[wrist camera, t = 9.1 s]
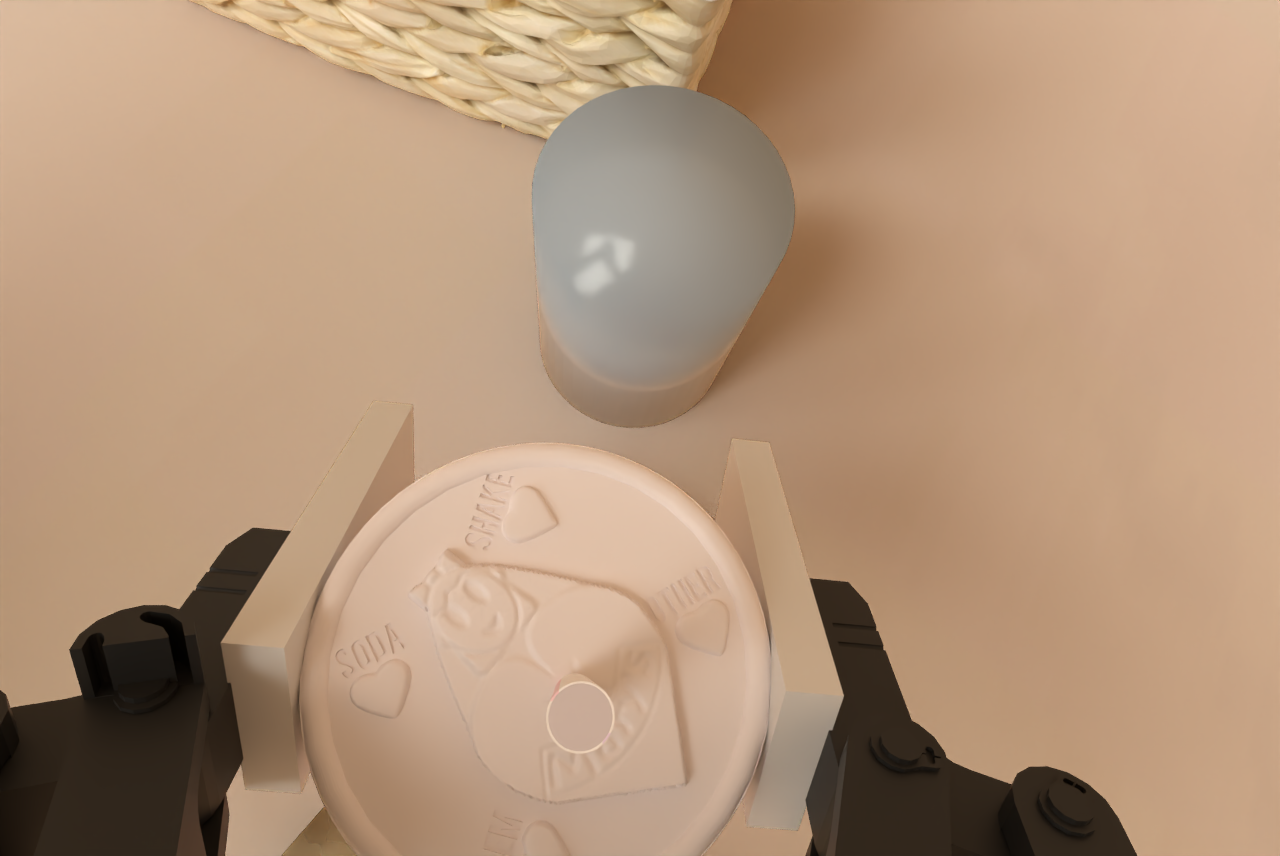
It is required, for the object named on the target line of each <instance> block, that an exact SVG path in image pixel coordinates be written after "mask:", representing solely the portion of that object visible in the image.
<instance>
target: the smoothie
mask: <svg viewBox="0 0 1280 856" xmlns="http://www.w3.org/2000/svg"><path fill="white" fill-rule="evenodd" d="M770 670H771V653H770V645H769V637H768V632H767V627H766V623H765V618H764V614H763V611H762V608H761V604H760V601H759V598H758V595H757V592H756V590H755V587H754V585H753V583H752V580H751V578H750V576H749V573H748V571H747V569H746V567H745V566H744V564H743V562H742V560H741V558H740V556H739V554H738V553H737V551H736V550H735V548H734V547H733V545H732V544H731V542H730V541H729V539H728V538H727V536H726V535H725V533H724V532H723V531H722V530H721V528H720V527H719V526H718V525H717V523H716V522H715V521H714V520H713V518H712V517H711V516H710V515H709V514H708V513H707V512H706V511H705V510H704V509H703V508H702V507H701V506H700V505H699V504H698V503H697V502H696V501H695V500H693V499H692V498H691V497H690V496H689V495H688V494H686V493H685V492H684V491H683V490H682V489H680V488H679V487H678V486H676V485H675V484H673V483H672V482H670V481H669V480H668V479H666V478H665V477H663V476H661V475H660V474H658V473H656V472H654V471H653V470H651V469H649V468H647V467H645V466H643V465H641V464H639V463H637V462H634V461H632V460H630V459H628V458H625V457H622V456H619V455H616V454H613V453H610V452H607V451H604V450H600V449H595V448H591V447H587V446H581V445H573V444H566V443H545V442H540V443H523V444H515V445H508V446H501V447H497V448H493V449H489V450H485V451H481V452H477V453H474V454H471V455H468V456H466V457H463V458H460V459H457V460H455V461H453V462H450V463H448V464H446V465H444V466H442V467H440V468H437V469H436V470H434V471H432V472H430V473H429V474H427V475H425V476H423V477H422V478H420V479H418V480H417V481H415V482H414V483H412V484H411V485H409V486H408V487H407V488H405V489H404V490H402V491H401V492H400V493H398V494H397V495H396V496H395V497H394V498H392V499H391V500H390V501H389V502H388V503H386V504H385V505H384V506H383V507H382V508H381V509H380V510H379V511H378V512H377V513H376V514H375V515H374V516H373V517H372V518H371V519H370V520H369V521H368V522H367V523H366V524H365V525H364V526H363V528H362V529H361V530H360V531H359V533H358V534H357V535H356V536H355V537H354V539H353V540H352V541H351V542H350V544H349V545H348V547H347V548H346V550H345V551H344V553H343V554H342V556H341V557H340V559H339V560H338V562H337V563H336V565H335V567H334V569H333V571H332V573H331V574H330V576H329V578H328V580H327V582H326V584H325V586H324V588H323V591H322V593H321V595H320V597H319V600H318V602H317V604H316V607H315V610H314V613H313V616H312V619H311V623H310V628H309V633H308V638H307V643H306V647H305V651H304V658H303V664H302V669H301V674H300V694H299V705H300V720H301V730H302V736H303V742H304V748H305V753H306V756H307V760H308V764H309V767H310V771H311V775H312V777H313V780H314V783H315V785H316V788H317V790H318V793H319V795H320V798H321V800H322V802H323V804H324V806H325V808H326V810H327V812H328V814H329V816H330V818H331V820H332V821H333V823H334V824H335V826H336V827H337V829H338V831H339V832H340V834H341V835H342V837H343V838H344V840H345V841H346V843H347V844H348V845H349V846H350V847H351V849H352V850H353V851H354V852H355V853H356V855H357V856H703V854H704V853H705V852H706V851H707V850H708V849H709V848H710V846H711V845H712V844H713V843H714V842H715V841H716V839H717V838H718V837H719V835H720V834H721V832H722V831H723V830H724V828H725V827H726V826H727V824H728V823H729V821H730V820H731V818H732V816H733V815H734V813H735V811H736V810H737V808H738V806H739V804H740V803H741V801H742V799H743V797H744V795H745V793H746V791H747V789H748V786H749V784H750V782H751V780H752V778H753V775H754V772H755V770H756V767H757V764H758V761H759V758H760V755H761V752H762V748H763V744H764V740H765V736H766V732H767V727H768V720H769V701H770V686H771V671H770Z"/></svg>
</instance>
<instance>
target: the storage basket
mask: <svg viewBox="0 0 1280 856" xmlns="http://www.w3.org/2000/svg"><path fill="white" fill-rule="evenodd" d="M189 1H192V2H194V3H197V4H199V5H202V6H204V7H206V8H208V9H209V10H210V11H212V12H214V13H217V14H219V15H223V16H225V17H227V18H230V19H232V20H235V21H238V22H243V23H247V24H249V25H250V26H252V27H254V28H256V29H257V30H259V31H261V32H263V33H266V34H268V35H271V36H273V37H276V38H279V39H282V40H284V41H287V42H289V43H293V44H295V45H299V46H304V47H306V48H307V49H308V50H310V51H311V52H312V53H314V54H316V55H317V56H319V57H321V58H323V59H324V60H326V61H328V62H330V63H333V64H336V65H338V66H341V67H344V68H347V69H350V70H354V71H358V72H361V73H365V74H371V75H373V76H374V77H376V78H377V79H379V80H380V81H382V82H384V83H386V84H389V85H392V86H394V87H397V88H400V89H402V90H405V91H408V92H410V93H413V94H416V95H420V96H423V97H427V98H430V99H434V100H438V101H439V102H441V103H442V104H444V105H446V106H447V107H449V108H451V109H452V110H454V111H456V112H459V113H462V114H464V115H467V116H470V117H473V118H476V119H479V120H488V121H498V122H500V123H502V125H501V127H502V128H505V126H506V125H507V126H510V127H512V128H514V129H515V130H517V131H520V132H522V133H524V134H533V135H537V136H539V137H542V138H545V139H547V140H548V139H549V137H550V136H551V134H552V133H553V131H554V130H555V129H556V128H557V127H558V126H559V125H560V123H561V122H562V121H563V120H564V119H565V118H566V117H568V116H569V115H570V114H571V113H572V112H574V111H575V110H576V109H577V108H579V107H581V106H582V105H584V104H586V103H587V102H589V101H590V100H593V99H595V98H597V97H599V96H601V95H604V94H606V93H609V92H613V91H616V90H619V89H624V88H629V87H635V86H647V85H662V86H673V87H680V88H686V89H690V90H693V91H697V88H698V83H699V81H700V79H701V78H702V77H703V75H704V74H705V72H706V70H707V67H708V65H709V63H710V61H711V58H712V55H713V52H714V49H715V46H716V42H717V38H718V35H719V33H720V32H721V30H722V28H723V26H724V24H725V21H726V19H727V17H728V14H729V11H730V7H731V4H732V1H733V0H189Z"/></svg>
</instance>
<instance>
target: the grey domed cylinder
mask: <svg viewBox="0 0 1280 856" xmlns="http://www.w3.org/2000/svg"><path fill="white" fill-rule="evenodd" d="M532 212H533V230H534V248H535V266H536V284H537V302H538V321H539V339H540V350H541V356H542V360H543V364H544V367H545V369H546V372H547V374H548V376H549V378H550V380H551V382H552V383H553V385H554V387H555V388H556V389H557V391H558V392H559V393H560V394H561V395H562V397H563V398H564V399H565V400H566V401H567V402H569V403H570V404H571V405H572V406H573V407H574V408H576V409H577V410H579V411H580V412H581V413H583V414H585V415H587V416H588V417H590V418H592V419H595V420H597V421H600V422H602V423H605V424H609V425H613V426H618V427H626V428H642V427H650V426H655V425H659V424H663V423H666V422H668V421H671V420H673V419H675V418H677V417H679V416H681V415H682V414H684V413H686V412H687V411H688V410H690V409H691V408H692V407H693V406H695V405H696V404H697V403H698V402H699V401H700V400H701V399H702V398H703V396H704V395H705V394H706V392H707V391H708V390H709V388H710V386H711V385H712V383H713V381H714V379H715V377H716V376H717V374H718V372H719V370H720V369H721V367H722V365H723V363H724V362H725V360H726V358H727V356H728V355H729V353H730V351H731V349H732V347H733V346H734V344H735V342H736V340H737V339H738V337H739V335H740V333H741V332H742V330H743V328H744V326H745V325H746V323H747V321H748V319H749V318H750V316H751V314H752V312H753V310H754V309H755V307H756V305H757V303H758V302H759V300H760V298H761V296H762V295H763V293H764V291H765V289H766V288H767V286H768V284H769V282H770V281H771V279H772V277H773V275H774V273H775V272H776V270H777V268H778V266H779V265H780V263H781V261H782V259H783V257H784V256H785V254H786V251H787V248H788V246H789V243H790V240H791V237H792V232H793V227H794V217H795V204H794V194H793V189H792V185H791V181H790V177H789V175H788V172H787V169H786V167H785V164H784V163H783V161H782V159H781V157H780V155H779V153H778V151H777V150H776V148H775V147H774V146H773V144H772V143H771V141H770V140H769V139H768V137H767V136H766V135H765V134H764V133H763V132H762V131H761V130H760V129H759V128H758V127H757V126H756V125H755V124H754V123H753V122H752V121H751V120H749V119H748V118H747V117H746V116H745V115H743V114H742V113H740V112H739V111H737V110H736V109H734V108H733V107H731V106H730V105H728V104H726V103H724V102H722V101H720V100H718V99H716V98H714V97H711V96H708V95H706V94H703V93H701V92H697V91H693V90H690V89H686V88H680V87H673V86H662V85H647V86H635V87H629V88H624V89H619V90H616V91H613V92H609V93H606V94H604V95H601V96H599V97H597V98H595V99H593V100H590V101H589V102H587V103H586V104H584V105H582V106H581V107H579V108H577V109H576V110H575V111H574V112H572V113H571V114H570V115H569V116H568V117H566V118H565V119H564V120H563V121H562V122H561V123H560V125H559V126H558V127H557V128H556V129H555V130H554V131H553V133H552V134H551V136H550V137H549V139H548V140H547V141H546V143H545V145H544V147H543V149H542V151H541V153H540V155H539V158H538V161H537V164H536V167H535V171H534V177H533V183H532Z"/></svg>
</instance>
